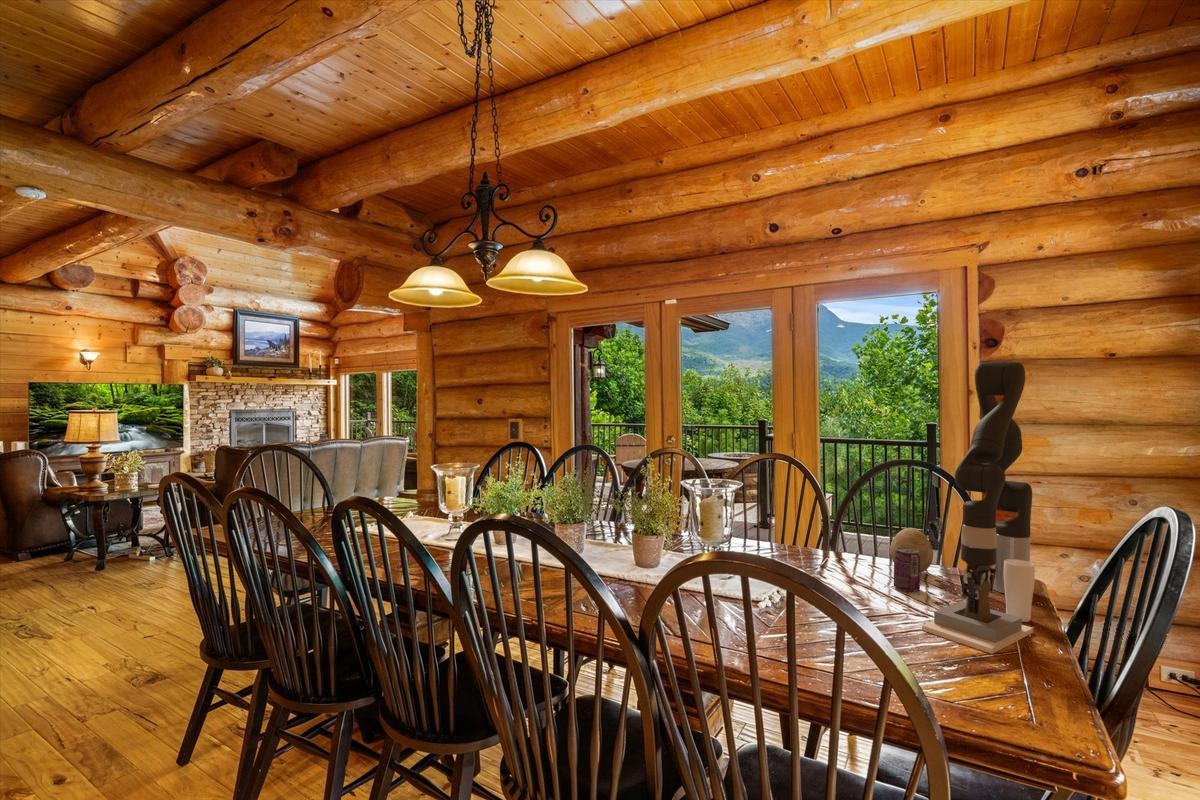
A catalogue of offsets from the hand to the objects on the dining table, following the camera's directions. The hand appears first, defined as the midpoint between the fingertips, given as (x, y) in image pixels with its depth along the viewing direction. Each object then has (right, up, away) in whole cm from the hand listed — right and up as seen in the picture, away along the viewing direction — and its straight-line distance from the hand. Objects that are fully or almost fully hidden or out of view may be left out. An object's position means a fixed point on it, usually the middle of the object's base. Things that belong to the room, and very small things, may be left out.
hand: (977, 611), depth 148 cm
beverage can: (-2, -5, +31) cm, 32 cm away
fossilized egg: (+8, -5, +47) cm, 48 cm away
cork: (0, -3, 0) cm, 3 cm away
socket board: (0, -5, 0) cm, 5 cm away
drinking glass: (+16, -5, +8) cm, 19 cm away
